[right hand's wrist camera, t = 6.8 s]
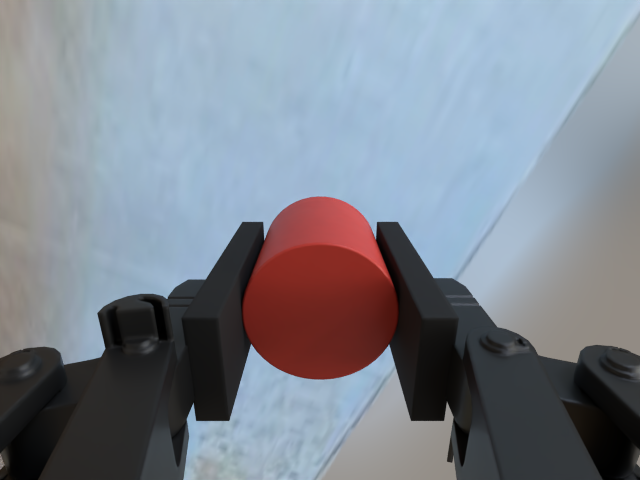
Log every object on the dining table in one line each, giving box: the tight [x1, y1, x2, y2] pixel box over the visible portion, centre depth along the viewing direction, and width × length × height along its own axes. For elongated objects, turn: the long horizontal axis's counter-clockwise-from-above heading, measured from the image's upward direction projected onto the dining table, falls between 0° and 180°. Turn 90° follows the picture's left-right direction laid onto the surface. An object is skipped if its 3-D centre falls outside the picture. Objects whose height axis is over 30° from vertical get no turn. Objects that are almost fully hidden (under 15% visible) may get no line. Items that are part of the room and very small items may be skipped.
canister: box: [242, 197, 399, 379], centre depth 12 cm, size 4×4×5 cm
